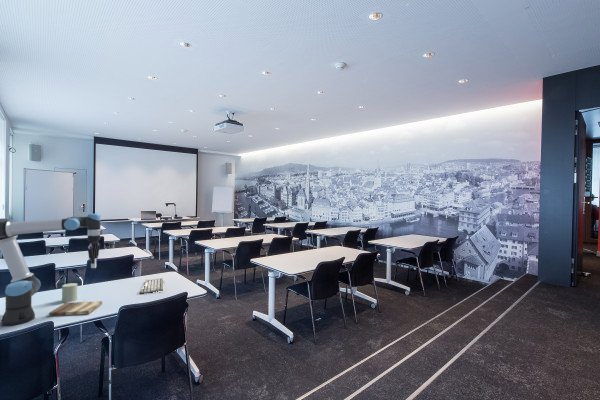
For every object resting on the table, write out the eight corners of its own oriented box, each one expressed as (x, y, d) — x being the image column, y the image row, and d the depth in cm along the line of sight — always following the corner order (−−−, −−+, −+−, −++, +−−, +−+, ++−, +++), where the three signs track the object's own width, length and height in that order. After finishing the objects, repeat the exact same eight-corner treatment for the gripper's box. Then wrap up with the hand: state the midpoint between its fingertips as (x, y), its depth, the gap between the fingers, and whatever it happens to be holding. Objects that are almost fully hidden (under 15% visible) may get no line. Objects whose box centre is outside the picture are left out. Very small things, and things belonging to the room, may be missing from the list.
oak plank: (65, 315, 190) (65, 312, 190) (80, 304, 208) (80, 302, 208) (89, 313, 193) (89, 310, 193) (102, 303, 210) (102, 301, 210)
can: (59, 302, 211) (59, 286, 211) (65, 298, 220) (65, 282, 220) (73, 301, 214) (74, 285, 214) (79, 297, 223) (79, 282, 223)
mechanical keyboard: (141, 282, 266) (141, 279, 266) (164, 280, 274) (164, 277, 274) (139, 295, 232) (139, 291, 232) (165, 293, 241) (165, 288, 241)
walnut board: (48, 316, 188) (49, 312, 188) (65, 305, 206) (65, 302, 206) (64, 315, 190) (64, 311, 190) (79, 305, 208) (79, 301, 208)
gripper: (94, 236, 203) (94, 269, 204) (104, 234, 216) (104, 265, 217) (82, 236, 202) (82, 270, 203) (93, 234, 215) (93, 265, 215)
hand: (93, 267), depth 210 cm, fingers closed
